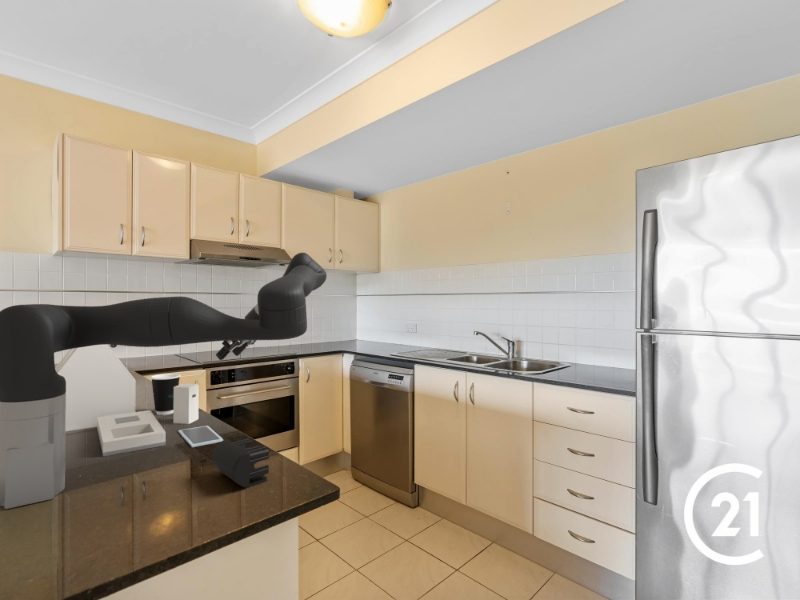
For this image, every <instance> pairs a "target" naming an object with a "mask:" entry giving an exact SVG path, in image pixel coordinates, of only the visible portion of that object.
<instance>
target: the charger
mask: <svg viewBox="0 0 800 600" xmlns="http://www.w3.org/2000/svg"><path fill="white" fill-rule="evenodd" d="M199 390H200V385H199V383H181V384H179V385H178V386H175V387H174V411H173V413H172V414H173V415H172V416H173V420H172V421H173V422H172V423H173V424H183V425H190V424H191V423H193V422H196V421H197V420H199V407H200V406H199V403H200V402H199V397H200V396H199Z"/></svg>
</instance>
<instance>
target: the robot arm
mask: <svg viewBox="0 0 800 600" xmlns="http://www.w3.org/2000/svg"><path fill="white" fill-rule="evenodd" d="M326 280H327V272H326V270H325V268H323V267H322V266H321V265H320V264H319V263H318V262H317V261H316V260H314V258H312V257H311V256H310V255H309V254H308V253H306V252H298V253H297V254H295V255H293V256H292V257H291V259H290V261H289V263H288V265H287V267H286V269H285V271H284V274H283V275H282V276H281V277H279V278H276V279H273V280H272V281H270V282H268V283H266V284H264V285H263V286H262V287H260V289H259V290H258V293H257V300H256V301H257V304H256V305H254V307H252V308H251V310H250V311H249V312H248V313H247V314H246V315H245V316H244V318H239V317H235V316H232V315H229V314H226V313H225V312H221V311H219V310H218V309H215V308H214V307H212V306H210V305H208V304H206V303H203V302H201V301H200V300H197V299H194V298H192V297H188V296H165V297H164V296H163V297H160V296H159V297H150V298H148V297H147V298H141V299H140V298H139V299H133V300H128V301H123V302H118V303H113V304H107V305H96V306H95V305H93V306H91V305H88V306H86V305H85V306H84V305H61V304H60V305H58V304H50V303H34V304H33V303H32V304H29V303H28V304H27V303H26V304H17V305H16V304H15V305H11V306H8V307H7V306H6V307H5V308H3V309H2V310H0V507H3V509H4V510H8V509H13V508H17V507H21V506H26V505H31V504H35V503H40V502H43V501H49V500H53V499H54V498H55V496H57V495H58V494H60V493H61V492H63V491H64V490H65V488H66V432H67V431H66V380H65V378H64V377H63V376H61V375H59V374H58V373H57V372H56V370H55V367H56V366H55V364H56V363H55V353H57V352H63V351H67V350H68V351H69V350H70V349H74V348H80V347H87V346H94V345H105V344H107V345H116V346H125V347H136V348H137V347H140V348H152V347H153V348H157V347H159V348H160V347H172V346H180V345H181V346H182V345H191V344H198V343H199V344H200V343H211V342H221V345H223V346H222V347H221V348H220V349H219V350H218V351H217V352H216V354H215V357H217V358H218V360H220V361H223V360H224V359H225V358H226V357H227V356H228V355H229V354H230V353H231V352H232V353H233V355H234V356H237V357H239V356H240V354H242V352H243V351H245V349H246V348H248V347H250V346H251V345H254V344H255V343H256V342H257V341H282V340H283V341H284V340H291V339H295V338H299V337H300V336H303V335H304V334H305V333H306V332H307V329H308V319H307V301H306V299H307V297H308V296H309V295H310V294H311V293H312V292H313V291H315V290H317V289H319V288H321V287H322V286H323V285H324V284H325V282H326Z"/></svg>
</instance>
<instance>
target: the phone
mask: <svg viewBox="0 0 800 600" xmlns="http://www.w3.org/2000/svg"><path fill="white" fill-rule="evenodd" d="M178 433H179V434H180V435H181V437H182V438H183V439H184V440H185V441H186V443H187V444H188V445H189V446H190V447H191V448H195V447H201V446H205V445H210V444H216V443H220V442H222V441H224V439H223V437H222V436H220V435H219V434H218V433H217V432H215V430H213V428H211V427H210V426H209V425H202V426H198V427H197V426H195V427H189V428H183V429H179V430H178Z"/></svg>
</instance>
